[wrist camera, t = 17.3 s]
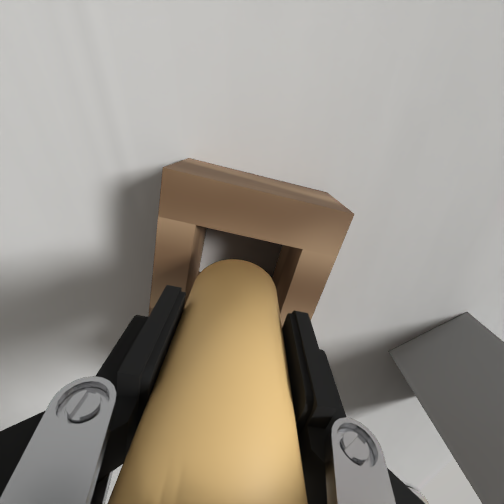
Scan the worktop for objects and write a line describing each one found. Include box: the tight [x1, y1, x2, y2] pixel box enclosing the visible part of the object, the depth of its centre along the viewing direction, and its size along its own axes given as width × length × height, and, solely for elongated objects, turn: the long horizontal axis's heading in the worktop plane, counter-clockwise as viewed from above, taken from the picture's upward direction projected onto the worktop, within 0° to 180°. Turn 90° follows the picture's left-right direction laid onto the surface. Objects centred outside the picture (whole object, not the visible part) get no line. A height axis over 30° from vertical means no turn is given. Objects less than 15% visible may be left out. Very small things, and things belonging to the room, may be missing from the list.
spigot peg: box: [108, 259, 308, 504], centre depth 8 cm, size 4×4×10 cm
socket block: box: [149, 158, 354, 327], centre depth 17 cm, size 20×9×7 cm, turn 167°
